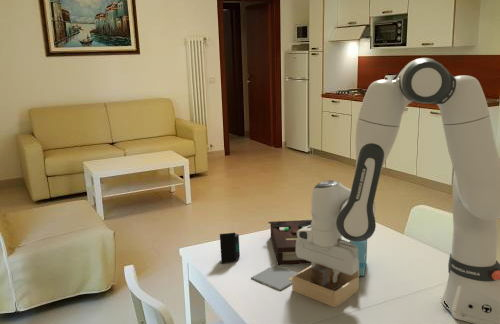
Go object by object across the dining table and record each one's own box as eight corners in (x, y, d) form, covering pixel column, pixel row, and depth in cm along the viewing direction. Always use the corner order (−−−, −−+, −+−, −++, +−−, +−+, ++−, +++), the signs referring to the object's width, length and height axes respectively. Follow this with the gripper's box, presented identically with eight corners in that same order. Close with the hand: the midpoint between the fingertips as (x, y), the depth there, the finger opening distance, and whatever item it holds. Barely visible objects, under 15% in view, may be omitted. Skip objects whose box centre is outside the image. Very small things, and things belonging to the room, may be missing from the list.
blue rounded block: (363, 277, 146) (364, 242, 143) (348, 276, 147) (349, 241, 145) (366, 261, 157) (367, 228, 154) (352, 260, 158) (353, 227, 156)
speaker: (237, 264, 157) (235, 234, 156) (221, 264, 158) (219, 234, 157) (241, 256, 165) (240, 228, 163) (226, 256, 166) (224, 228, 164)
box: (339, 286, 141) (340, 261, 139) (322, 297, 134) (323, 272, 132) (328, 282, 143) (328, 258, 141) (311, 293, 137) (311, 268, 135)
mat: (304, 276, 148) (304, 275, 147) (280, 290, 139) (280, 289, 139) (275, 265, 156) (275, 264, 156) (251, 278, 147) (251, 277, 147)
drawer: (358, 290, 138) (359, 261, 136) (330, 311, 127) (330, 279, 125) (316, 275, 148) (316, 247, 146) (287, 293, 138) (286, 263, 136)
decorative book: (274, 248, 152) (266, 217, 181) (274, 269, 154) (267, 235, 183) (332, 246, 153) (315, 215, 182) (332, 267, 155) (315, 233, 184)
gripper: (363, 240, 130) (362, 285, 133) (304, 224, 144) (304, 265, 147) (351, 247, 126) (350, 294, 129) (292, 230, 139) (292, 272, 142)
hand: (325, 278), depth 138 cm, fingers closed on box, 4 cm apart
